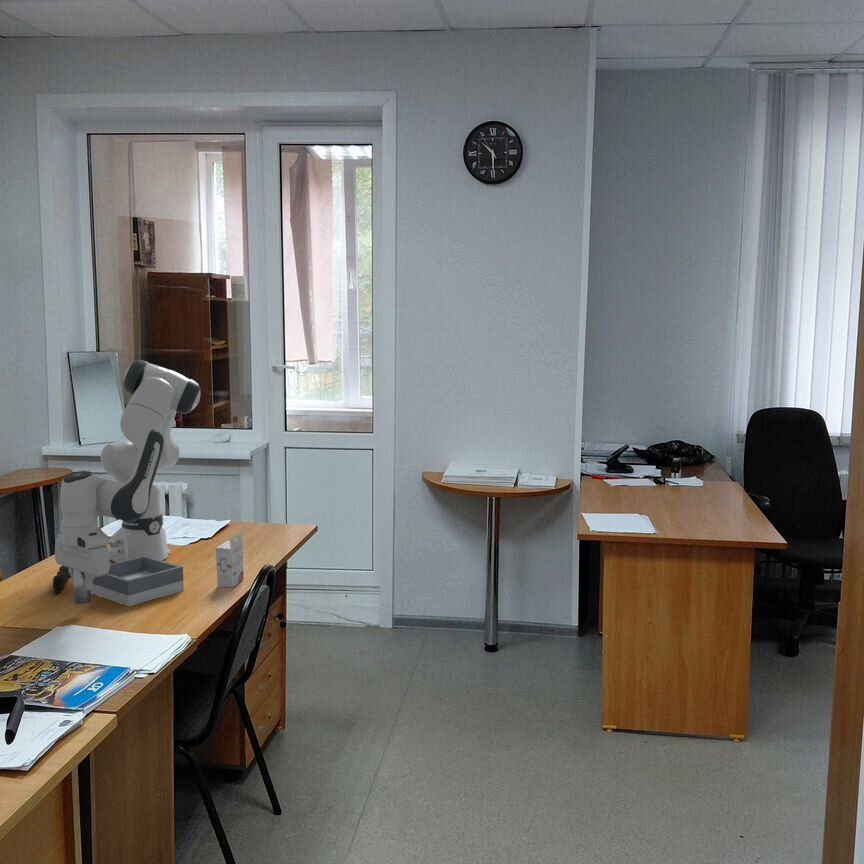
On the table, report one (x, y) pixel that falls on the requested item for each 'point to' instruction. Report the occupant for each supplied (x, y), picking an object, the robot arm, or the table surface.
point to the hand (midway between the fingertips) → (82, 586)
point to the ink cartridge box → (230, 562)
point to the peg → (80, 588)
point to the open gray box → (139, 580)
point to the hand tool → (61, 579)
